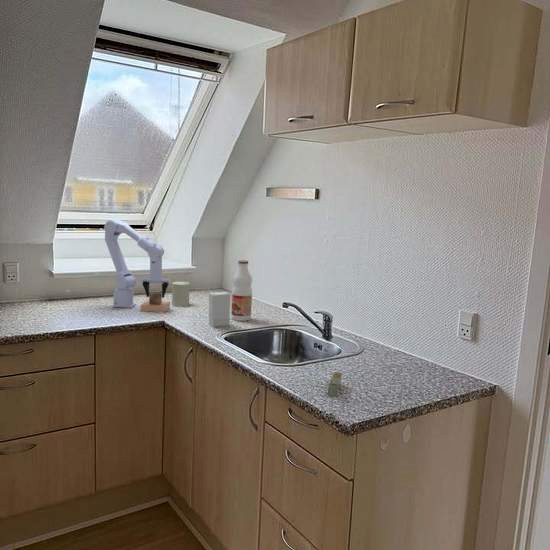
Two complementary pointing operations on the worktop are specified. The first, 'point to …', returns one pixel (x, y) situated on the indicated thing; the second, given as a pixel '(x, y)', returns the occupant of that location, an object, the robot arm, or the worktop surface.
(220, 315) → the skincare box
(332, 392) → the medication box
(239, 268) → the fruit juice
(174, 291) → the can
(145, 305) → the tan rectangular block
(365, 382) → the worktop surface
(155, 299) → the walnut cube
